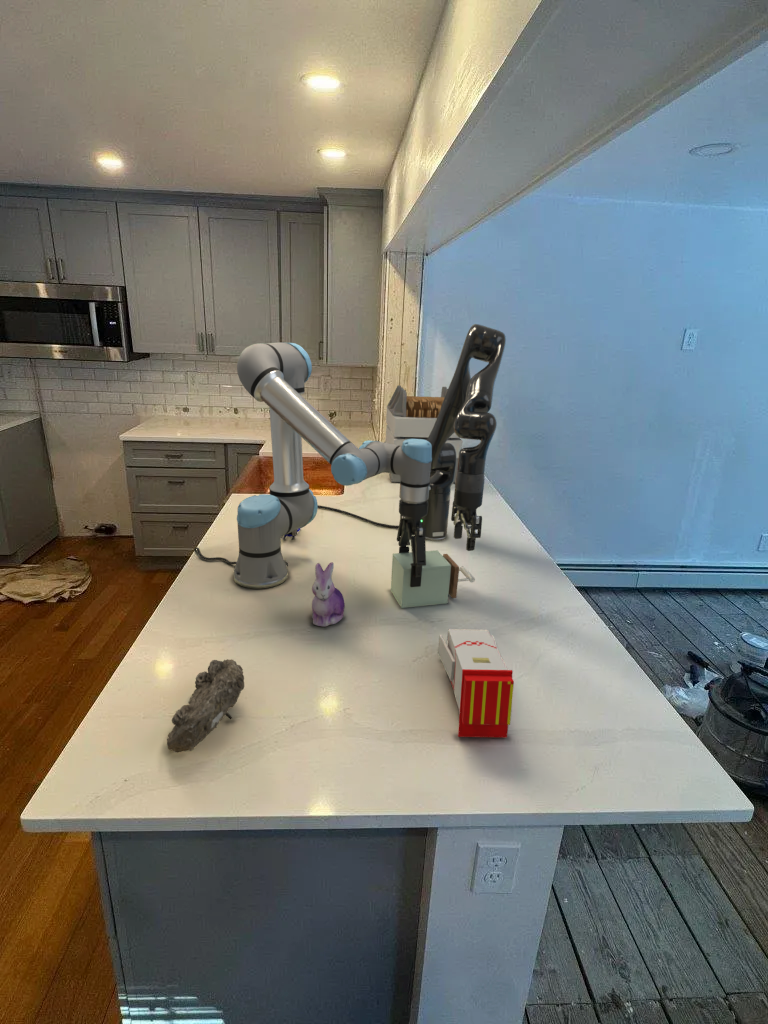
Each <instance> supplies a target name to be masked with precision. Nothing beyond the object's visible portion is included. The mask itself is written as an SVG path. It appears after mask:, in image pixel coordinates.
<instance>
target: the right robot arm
mask: <svg viewBox="0 0 768 1024" xmlns="http://www.w3.org/2000/svg"><path fill="white" fill-rule="evenodd" d="M506 337H507V336H506V334H505V333H504V332H503V331H501V330H499V329H495V328H492V327H488V326H486V325H482V324H478V323H474V324H472V325H471V326H470V328H469V329H468V331H467V333H466V336H465V339H464V342H463V345H462V348H461V352H460V355H459V358H458V362H457V365H456V368H455V371H454V373H453V376H452V378H451V380H450V384H449V386H448V388H447V389H448V390H447V393H446V395H445V398H444V400H443V403H442V406H441V409H440V412H439V414H438V417H437V419H436V422H435V424H434V427H433V429H432V431H431V433H430V435H429V437H428V439H427V441H429V442H430V443H431V445H432V462H431V472H434V473H433V474H432V475H430V485H429V487H431V490H429V498H428V500H427V501H428V513H427V515H426V516H425V517H422V518H421V522H422V527H425V528H426V534H425V540H426V541H432V542H440V541H444V540H446V539H447V538H448V525H449V517H450V516H449V514H450V504H451V494H452V493H451V491H452V486H453V484H454V493H453V502H452V507H451V517H450V521H451V522H452V523H453V527H454V529H453V538H454V540H460V539H462V538H463V529H464V531H466V545H465V550H466V551H467V552H472V551H475V549H476V541H477V539H481V538H482V537H481V536H482V525H483V516H482V515H478V514H477V509H478V508H480V507H481V506H482V505H483V498H484V489H485V488H484V487H485V470H486V469H485V468H486V460H487V454H488V450H489V447H490V445H491V442H492V440H493V438H494V435H495V433H496V430H497V427H498V425H497V424H498V422H497V419H496V416H495V415H494V414H493V413H491V412H490V411H491V409H492V404H493V397H494V389H495V383H496V380H497V377H498V374H499V371H500V367H501V363H502V360H503V356H504V352H505V348H506V341H507V338H506ZM471 359H474V360H476V361H477V360H478V361H480V362H483V363H484V362H485V363H488V364H487V365H485V367H483V368H482V369H480V370H479V371H478V372H476V373H474V375H473V376H472V375H471V368H470V361H471ZM454 433H455V434H456V435H457V436H458V437H459V438H460V439H461V440H474V441H480V442H479V443H478V444H477V445H473V446H467V447H462V449H461V450H460V452H459V457H458V469H457V475H456V480H455V483H453V480H454V473H455V466H456V451H455V448H454V446H453V445H452V444H451V443H446V441H447V440H448V439H449V437H450V436H451V435H452V434H454ZM318 509H323V510H327V511H328V510H329V511H333V512H336V513H340V514H343V515H347V516H350V517H353V518H354V519H358V520H361V521H363V522H366V523H368V524H371V525H374V526H379V527H384V528H388V529H398V528H399V525H393V524H387V523H381V522H376V521H374V520H371V519H369V518H366V517H362V516H360V515H358V514H354V513H351V512H348V511H346V510H343V509H340V508H339V509H338V508H334V507H329V506H325V505H319V504H318Z"/></svg>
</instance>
